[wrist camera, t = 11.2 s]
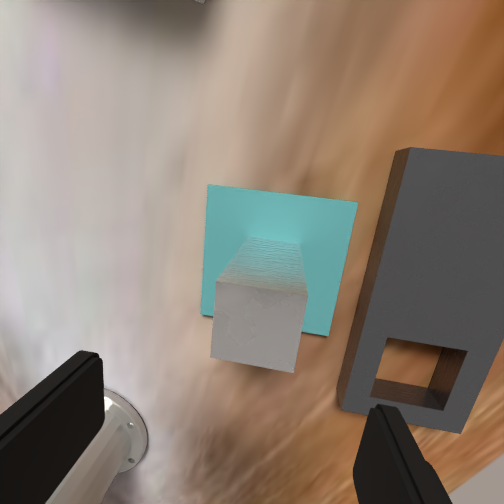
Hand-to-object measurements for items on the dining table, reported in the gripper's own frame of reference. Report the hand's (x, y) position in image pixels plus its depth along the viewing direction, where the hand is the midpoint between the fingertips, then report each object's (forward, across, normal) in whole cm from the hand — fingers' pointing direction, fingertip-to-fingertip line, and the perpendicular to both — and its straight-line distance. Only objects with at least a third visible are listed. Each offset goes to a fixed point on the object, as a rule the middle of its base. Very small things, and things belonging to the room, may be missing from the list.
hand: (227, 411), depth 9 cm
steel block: (+14, -1, -1) cm, 14 cm away
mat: (+15, -1, -1) cm, 15 cm away
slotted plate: (+15, -14, 0) cm, 20 cm away
